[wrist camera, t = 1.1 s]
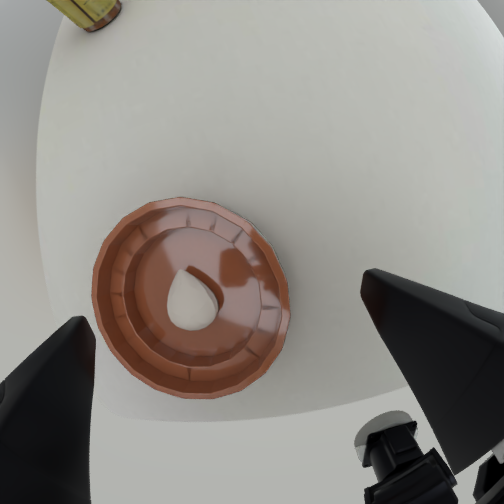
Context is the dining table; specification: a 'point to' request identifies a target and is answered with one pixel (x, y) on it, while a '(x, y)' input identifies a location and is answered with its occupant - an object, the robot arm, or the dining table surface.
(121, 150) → the dining table surface
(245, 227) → the bowl
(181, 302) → the garlic clove
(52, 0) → the sauce bottle
